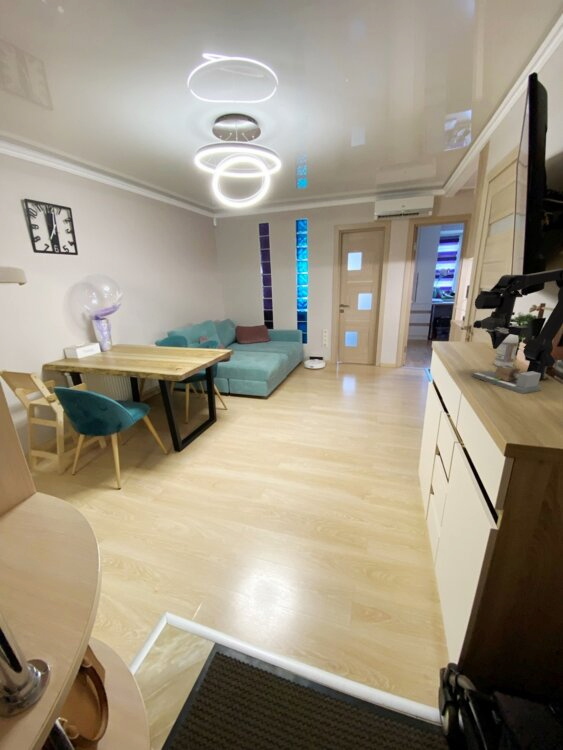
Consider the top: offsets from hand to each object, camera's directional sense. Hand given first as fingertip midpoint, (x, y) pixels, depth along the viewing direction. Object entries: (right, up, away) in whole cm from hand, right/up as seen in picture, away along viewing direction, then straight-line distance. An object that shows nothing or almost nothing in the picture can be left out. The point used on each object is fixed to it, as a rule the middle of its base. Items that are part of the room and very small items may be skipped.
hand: (494, 348), depth 123 cm
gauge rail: (+3, -14, -2) cm, 14 cm away
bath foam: (+18, -6, +20) cm, 27 cm away
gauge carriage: (+2, -12, -4) cm, 13 cm away
